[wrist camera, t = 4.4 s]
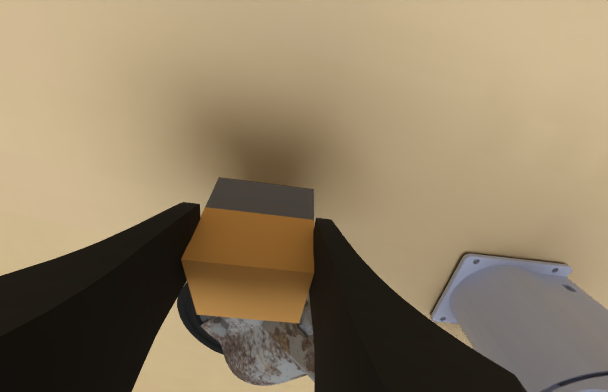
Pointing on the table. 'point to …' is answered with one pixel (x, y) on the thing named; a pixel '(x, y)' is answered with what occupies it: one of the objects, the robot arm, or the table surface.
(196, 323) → the caster wheel
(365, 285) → the robot arm
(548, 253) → the table surface
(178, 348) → the table surface
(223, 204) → the block
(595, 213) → the table surface
